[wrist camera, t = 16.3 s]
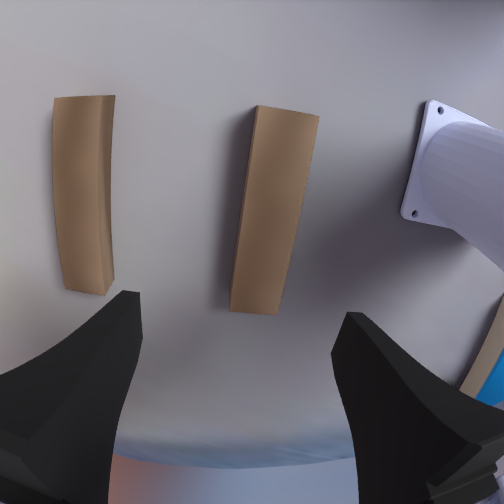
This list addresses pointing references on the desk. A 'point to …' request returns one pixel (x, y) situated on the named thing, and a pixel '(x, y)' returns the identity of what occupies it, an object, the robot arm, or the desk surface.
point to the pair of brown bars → (252, 211)
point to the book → (488, 366)
